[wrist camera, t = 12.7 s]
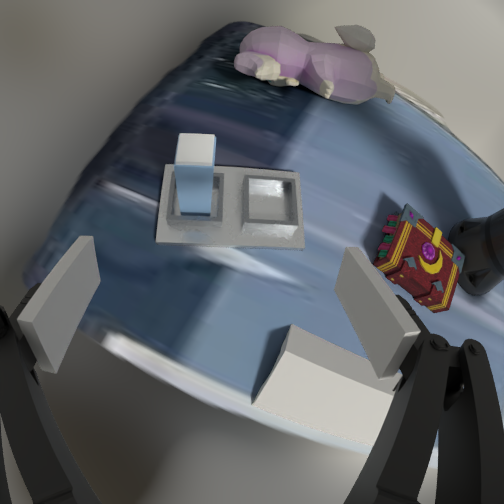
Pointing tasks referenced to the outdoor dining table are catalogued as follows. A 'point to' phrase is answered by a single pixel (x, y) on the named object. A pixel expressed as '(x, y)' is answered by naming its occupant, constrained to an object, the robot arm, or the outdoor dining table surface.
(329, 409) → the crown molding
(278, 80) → the toy
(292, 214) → the panel
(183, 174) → the plug
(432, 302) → the decorative book
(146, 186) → the outdoor dining table surface
